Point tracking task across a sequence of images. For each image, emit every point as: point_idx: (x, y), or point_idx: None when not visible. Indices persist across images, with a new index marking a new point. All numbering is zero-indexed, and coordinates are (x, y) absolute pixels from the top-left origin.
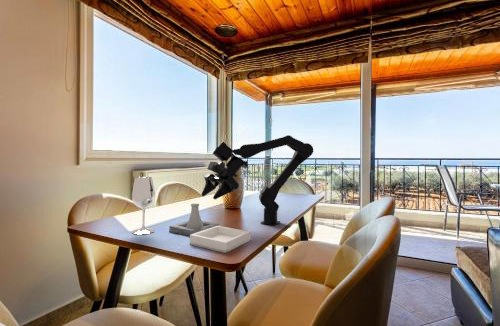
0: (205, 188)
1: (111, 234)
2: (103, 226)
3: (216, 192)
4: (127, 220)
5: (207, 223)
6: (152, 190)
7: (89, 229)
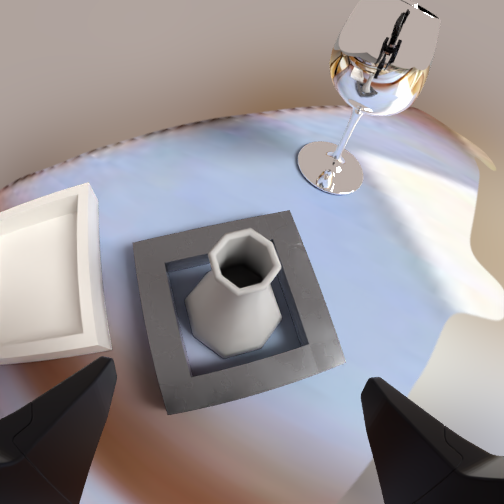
0: (413, 432)
1: (344, 118)
2: (424, 141)
3: (68, 390)
4: (469, 202)
5: (217, 373)
6: (358, 44)
7: (406, 117)
